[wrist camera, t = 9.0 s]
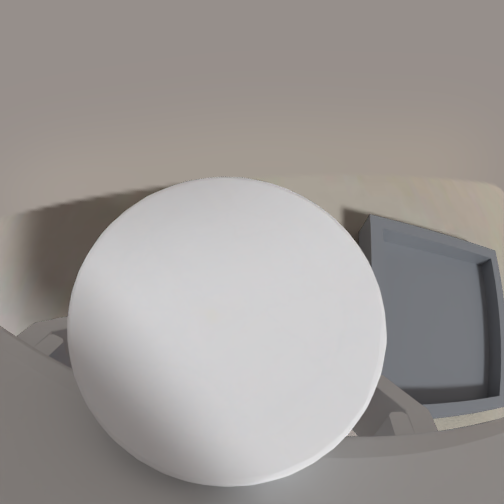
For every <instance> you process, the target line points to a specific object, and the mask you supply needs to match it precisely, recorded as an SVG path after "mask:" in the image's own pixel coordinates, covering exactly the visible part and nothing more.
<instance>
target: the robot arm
mask: <svg viewBox="0 0 504 504" xmlns="http://www.w3.org/2000/svg"><path fill="white" fill-rule="evenodd" d="M67 318H68V316H66V317H61V318H56V319H51V320H46V321H41V322H36V323H33V324H32V325H31V326H29V327H28V328H27V329H25V330H24V331H23V332H22V333H20V334H19V335H18V336H15V335H13V334H12V333H10V332H9V331H7V330H6V329H4V328H3V327H1V326H0V504H504V417H503V418H500V419H496V420H492V421H488V422H484V423H480V424H475V425H471V426H466V427H460V428H455V429H449V430H442V431H438V430H437V427H436V425H435V423H434V421H433V418H432V416H431V414H430V412H429V410H428V409H427V408H425V407H424V406H423V405H421V404H420V403H419V402H417V401H416V400H415V399H413V398H412V397H411V396H409V395H408V394H407V393H405V392H404V391H403V390H401V389H400V388H399V387H398V386H396V385H395V384H394V383H392V382H391V381H390V380H388V379H387V378H386V377H384V376H383V375H381V376H380V378H379V381H378V384H377V386H376V389H375V392H374V394H373V396H372V398H371V401H370V403H369V405H368V407H367V409H366V410H365V412H364V413H363V415H362V416H361V418H360V419H359V421H358V422H357V423H356V425H355V426H354V427H353V428H352V429H353V430H354V432H355V433H356V434H357V435H358V436H346V437H345V438H344V439H343V440H342V441H341V442H340V443H339V444H338V445H337V446H336V447H335V448H334V449H332V450H331V451H330V452H328V453H327V454H325V455H324V456H323V457H321V458H320V459H319V460H317V461H316V462H314V463H313V464H311V465H309V466H307V467H305V468H303V469H301V470H299V471H297V472H295V473H293V474H291V475H289V476H286V477H283V478H280V479H276V480H273V481H269V482H265V483H260V484H256V485H248V486H234V487H223V486H209V485H202V484H196V483H191V482H187V481H184V480H181V479H178V478H175V477H172V476H169V475H166V474H163V473H161V472H159V471H157V470H155V469H153V468H151V467H150V466H148V465H146V464H144V463H143V462H141V461H139V460H138V459H136V458H135V457H133V456H132V455H131V454H130V453H128V452H127V451H126V450H125V449H123V448H122V447H121V446H120V445H119V444H118V443H117V442H115V441H114V440H113V439H112V438H111V437H110V436H109V435H108V434H107V432H106V431H105V430H104V429H103V428H102V426H101V425H100V424H99V423H98V421H97V420H96V418H95V417H94V415H93V414H92V412H91V411H90V410H89V408H88V406H87V405H86V403H85V401H84V399H83V397H82V394H81V392H80V390H79V387H78V385H77V382H76V380H75V377H74V374H73V370H72V366H71V361H70V355H69V349H68V342H67Z"/></svg>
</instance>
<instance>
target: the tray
mask: <svg viewBox="0 0 504 504" xmlns="http://www.w3.org/2000/svg"><path fill="white" fill-rule="evenodd" d="M359 247H360V249H361V250H362V252H363V253H364V255H365V257H366V258H367V260H368V262H369V264H370V266H371V268H372V270H373V273H374V275H375V278H376V280H377V283H378V285H379V288H380V292H381V296H382V301H383V305H384V310H385V319H386V332H387V344H386V351H385V357H384V362H383V368H382V373H381V375H383V376H384V377H386V378H387V379H388V380H390V381H391V382H392V383H394V384H395V385H396V386H398V387H399V388H400V389H401V390H403V391H404V392H405V393H407V394H408V395H409V396H411V397H412V398H413V399H415V400H416V401H417V402H419V403H420V404H421V405H423V406H424V407H425V408H427V409H428V410H429V412H430V414H431V416H432V418H433V419H434V418H443V417H451V416H459V415H465V414H471V413H477V412H482V411H487V410H492V409H496V408H501V407H504V298H503V291H502V284H501V278H500V272H499V267H498V262H497V257H496V252H495V250H492V249H489V248H486V247H483V246H480V245H477V244H474V243H471V242H468V241H464V240H461V239H458V238H455V237H451V236H448V235H445V234H441V233H438V232H435V231H431V230H428V229H424V228H421V227H417V226H413V225H410V224H406V223H402V222H398V221H395V220H391V219H387V218H383V217H379V216H375V215H371V214H370V215H369V217H368V218H367V220H366V222H365V223H364V225H363V226H362V228H361V229H360V231H359Z"/></svg>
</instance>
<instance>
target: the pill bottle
mask: <svg viewBox="0 0 504 504" xmlns="http://www.w3.org/2000/svg"><path fill="white" fill-rule="evenodd" d="M67 342H68V349H69V355H70V361H71V366H72V370H73V374H74V377H75V380H76V382H77V385H78V387H79V390H80V392H81V394H82V397H83V399H84V401H85V403H86V405H87V406H88V408H89V410H90V411H91V412H92V414H93V415H94V417H95V418H96V420H97V421H98V423H99V424H100V425H101V426H102V428H103V429H104V430H105V431H106V432H107V434H108V435H109V436H110V437H111V438H112V439H113V440H114V441H115V442H117V443H118V444H119V445H120V446H121V447H122V448H123V449H125V450H126V451H127V452H128V453H130V454H131V455H132V456H133V457H135V458H136V459H138V460H139V461H141V462H143V463H144V464H146V465H148V466H150V467H151V468H153V469H155V470H157V471H159V472H161V473H163V474H166V475H169V476H172V477H175V478H178V479H181V480H184V481H187V482H191V483H196V484H202V485H209V486H223V487H234V486H248V485H256V484H260V483H265V482H269V481H273V480H276V479H280V478H283V477H286V476H289V475H291V474H293V473H295V472H297V471H299V470H301V469H303V468H305V467H307V466H309V465H311V464H313V463H314V462H316V461H317V460H319V459H320V458H321V457H323V456H324V455H325V454H327V453H328V452H330V451H331V450H332V449H334V448H335V447H336V446H337V445H338V444H339V443H340V442H341V441H342V440H343V439H344V438H345V437H346V436H347V435H348V434H349V432H350V431H351V430H352V428H353V427H354V426H355V425H356V423H357V422H358V421H359V419H360V418H361V416H362V415H363V413H364V412H365V410H366V409H367V407H368V405H369V403H370V401H371V398H372V396H373V394H374V392H375V389H376V386H377V384H378V381H379V378H380V376H381V373H382V368H383V362H384V357H385V351H386V344H387V332H386V319H385V310H384V305H383V301H382V296H381V292H380V288H379V285H378V283H377V280H376V278H375V275H374V273H373V270H372V268H371V266H370V264H369V262H368V260H367V258H366V257H365V255H364V253H363V252H362V250H361V249H360V247H359V246H358V244H357V243H356V242H355V240H354V239H353V238H352V237H351V235H350V234H349V233H348V232H347V231H346V230H345V228H344V227H343V226H342V225H341V224H340V223H339V222H338V221H337V220H336V219H334V218H333V217H332V216H331V215H330V214H328V213H327V212H326V211H325V210H324V209H322V208H321V207H319V206H318V205H317V204H315V203H313V202H312V201H310V200H308V199H306V198H305V197H303V196H301V195H300V194H297V193H295V192H293V191H291V190H288V189H286V188H283V187H280V186H278V185H275V184H272V183H268V182H264V181H260V180H254V179H249V178H243V177H210V178H203V179H196V180H191V181H186V182H183V183H179V184H176V185H173V186H170V187H167V188H165V189H163V190H160V191H158V192H155V193H153V194H151V195H148V196H147V197H145V198H144V199H142V200H140V201H139V202H137V203H136V204H134V205H133V206H131V207H130V208H128V209H127V210H126V211H124V212H123V213H122V214H121V215H120V216H119V217H118V218H117V219H116V220H114V221H113V222H112V223H111V224H110V225H109V226H108V227H107V228H106V229H105V230H104V231H103V233H102V234H101V235H100V236H99V238H98V239H97V241H96V242H95V244H94V245H93V247H92V248H91V250H90V251H89V253H88V254H87V256H86V258H85V260H84V262H83V264H82V266H81V268H80V270H79V272H78V275H77V278H76V281H75V284H74V287H73V290H72V293H71V298H70V303H69V309H68V318H67Z"/></svg>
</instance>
